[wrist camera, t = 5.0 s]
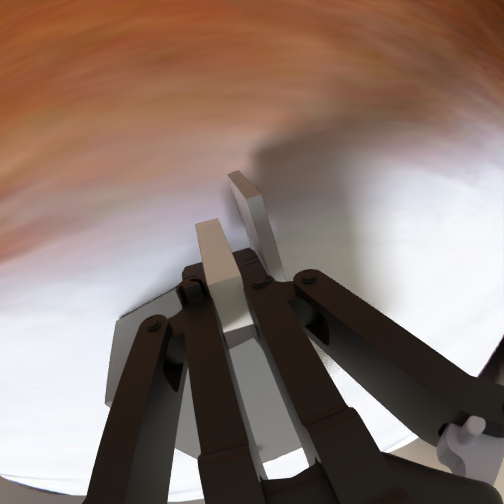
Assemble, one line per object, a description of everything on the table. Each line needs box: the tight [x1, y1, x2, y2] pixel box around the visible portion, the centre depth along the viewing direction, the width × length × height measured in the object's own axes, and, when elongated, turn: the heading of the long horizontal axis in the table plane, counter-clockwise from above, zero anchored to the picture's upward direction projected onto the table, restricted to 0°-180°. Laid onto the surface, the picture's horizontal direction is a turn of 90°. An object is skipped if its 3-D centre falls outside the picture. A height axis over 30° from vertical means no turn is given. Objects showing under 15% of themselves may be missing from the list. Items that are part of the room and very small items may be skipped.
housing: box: [105, 288, 302, 463], centre depth 22 cm, size 19×11×9 cm, turn 25°
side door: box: [227, 170, 286, 282], centre depth 19 cm, size 16×1×8 cm, turn 16°
